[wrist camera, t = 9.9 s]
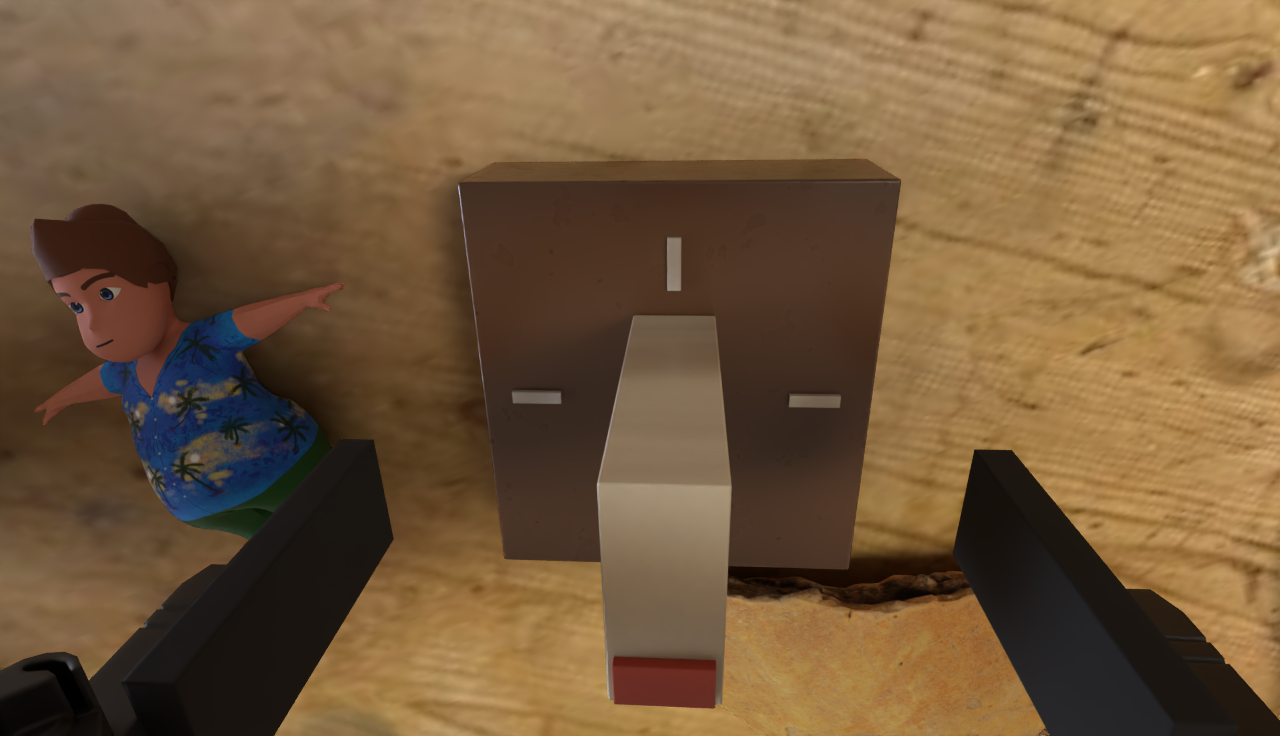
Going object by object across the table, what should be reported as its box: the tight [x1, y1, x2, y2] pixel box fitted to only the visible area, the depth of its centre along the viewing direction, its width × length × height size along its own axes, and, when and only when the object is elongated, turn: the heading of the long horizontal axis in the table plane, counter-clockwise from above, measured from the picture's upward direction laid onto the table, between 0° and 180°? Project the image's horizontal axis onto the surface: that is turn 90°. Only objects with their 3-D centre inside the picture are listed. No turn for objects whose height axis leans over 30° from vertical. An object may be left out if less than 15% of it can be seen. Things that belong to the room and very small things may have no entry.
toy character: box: [31, 204, 344, 540], centre depth 22 cm, size 12×5×15 cm
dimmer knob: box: [597, 315, 732, 709], centre depth 16 cm, size 5×2×8 cm, turn 1°
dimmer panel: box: [458, 159, 901, 569], centre depth 21 cm, size 12×11×4 cm
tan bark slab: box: [718, 571, 1046, 736], centre depth 26 cm, size 17×4×10 cm
